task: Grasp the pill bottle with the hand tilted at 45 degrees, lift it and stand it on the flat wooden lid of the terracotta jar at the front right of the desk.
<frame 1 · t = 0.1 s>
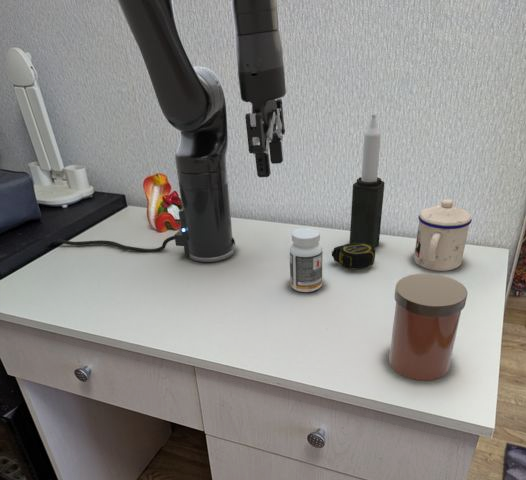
hand: (270, 169, 88), 17 cm above the table, tool pointing down, fingers open, 8 cm apart
tape measure: (352, 265, 94), on the table
jar: (418, 362, 68), on the table
teacup with lid: (435, 265, 93), on the table
pill bottle: (305, 286, 88), on the table
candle: (363, 247, 101), on the table
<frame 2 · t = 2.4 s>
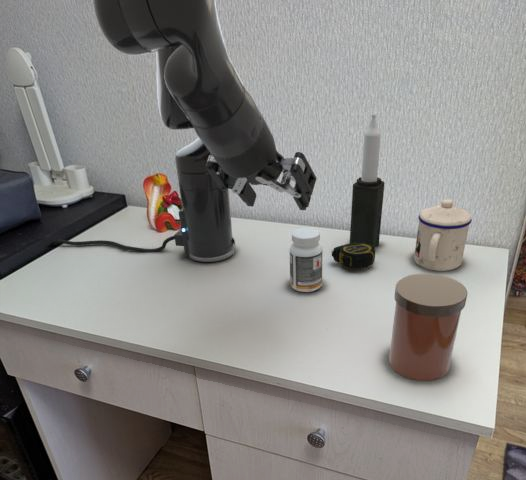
hand: (278, 202, 72), 17 cm above the table, tool tilted 40°, fingers open, 8 cm apart
nothing on the table moved.
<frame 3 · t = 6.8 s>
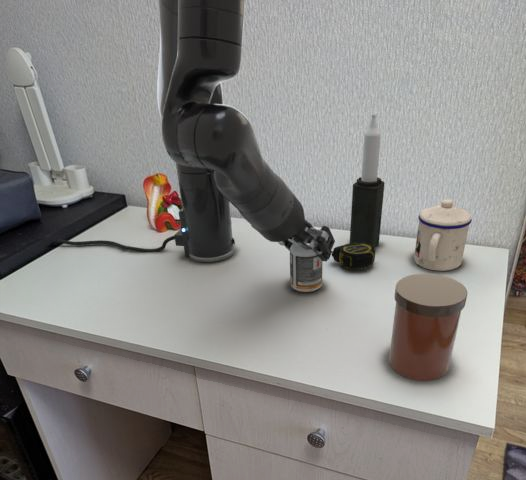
hand: (311, 252, 86), 6 cm above the table, tool tilted 45°, fingers closed on pill bottle, 5 cm apart
pill bottle: (305, 286, 88), on the table, touching gripper
everything else where it was.
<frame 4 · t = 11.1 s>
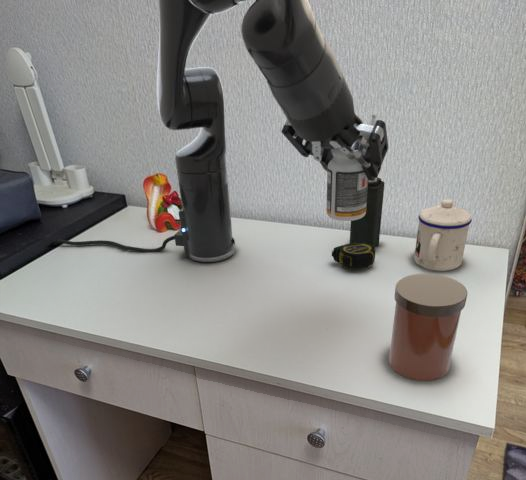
hand: (353, 171, 69), 22 cm above the table, tool tilted 45°, fingers closed on pill bottle, 5 cm apart
pill bottle: (345, 216, 71), point 16 cm above the table, touching gripper
everything else where it was.
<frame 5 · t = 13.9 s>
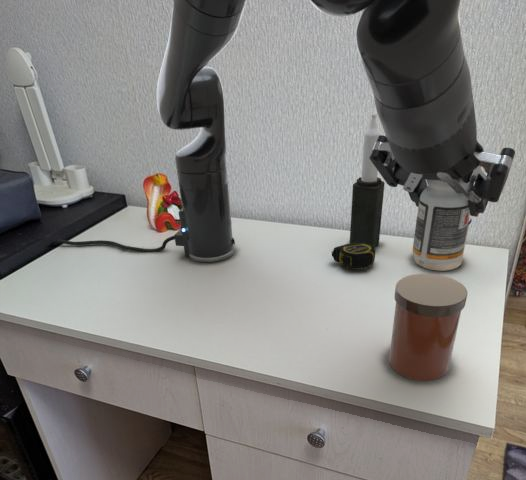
hand: (449, 204, 57), 22 cm above the table, tool tilted 45°, fingers closed on pill bottle, 5 cm apart
pill bottle: (435, 257, 59), point 16 cm above the table, touching gripper
everything else where it was.
when the fingers open (17 cm above the table, at t = 15.7 s): pill bottle stays where it is, resting on jar.
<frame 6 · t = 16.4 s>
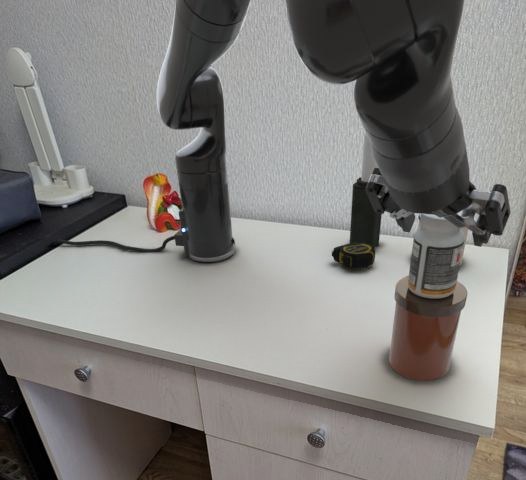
hand: (444, 231, 58), 19 cm above the table, tool tilted 45°, fingers open, 8 cm apart
pill bottle: (430, 291, 62), point 11 cm above the table, touching jar
everything else where it was.
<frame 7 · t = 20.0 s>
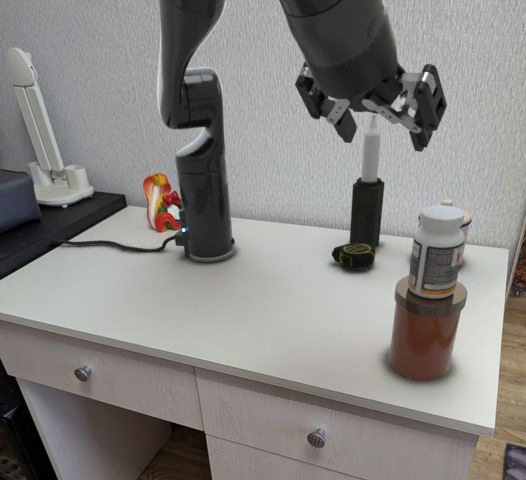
hand: (385, 139, 55), 29 cm above the table, tool tilted 45°, fingers open, 8 cm apart
nothing on the table moved.
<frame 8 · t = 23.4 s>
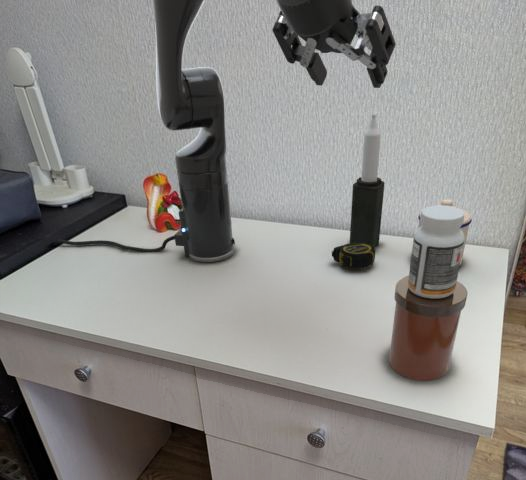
hand: (350, 80, 65), 33 cm above the table, tool tilted 45°, fingers open, 8 cm apart
nothing on the table moved.
at the end: pill bottle 0.2 cm off-centre on the jar, point 11.3 cm above the jar's base; pill bottle tilted 0°; the gripper is holding nothing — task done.
